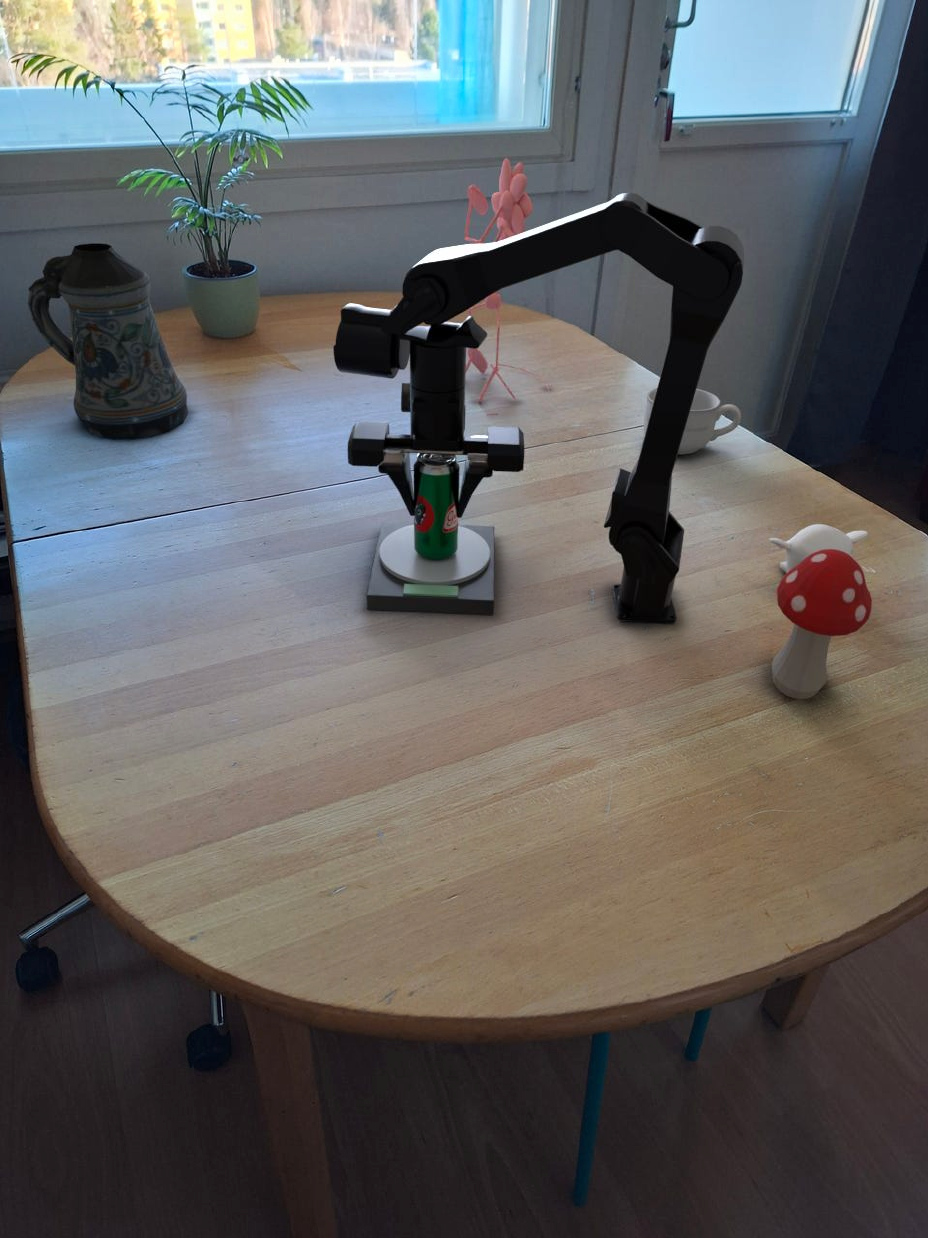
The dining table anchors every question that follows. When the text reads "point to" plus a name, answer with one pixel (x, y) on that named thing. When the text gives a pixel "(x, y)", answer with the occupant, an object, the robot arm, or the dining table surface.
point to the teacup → (699, 420)
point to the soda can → (436, 505)
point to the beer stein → (110, 344)
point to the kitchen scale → (433, 573)
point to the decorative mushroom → (818, 617)
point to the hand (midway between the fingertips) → (436, 515)
